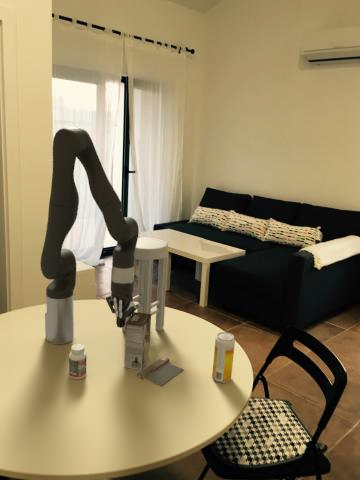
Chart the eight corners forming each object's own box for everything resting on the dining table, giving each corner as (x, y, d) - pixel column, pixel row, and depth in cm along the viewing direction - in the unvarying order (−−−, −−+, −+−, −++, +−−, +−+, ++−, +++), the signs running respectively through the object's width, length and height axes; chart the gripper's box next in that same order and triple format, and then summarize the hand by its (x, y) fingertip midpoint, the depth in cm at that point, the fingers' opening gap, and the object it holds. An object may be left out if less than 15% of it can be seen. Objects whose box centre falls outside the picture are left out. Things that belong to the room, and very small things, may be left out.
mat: (136, 374, 143) (136, 373, 143) (159, 359, 153) (159, 358, 153) (161, 386, 138) (161, 385, 138) (183, 370, 148) (183, 369, 147)
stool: (170, 328, 175) (175, 242, 166) (147, 343, 163) (151, 251, 153) (139, 317, 183) (142, 234, 174) (114, 331, 171) (116, 242, 161)
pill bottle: (80, 381, 138) (80, 352, 135) (65, 377, 140) (65, 349, 137) (89, 372, 143) (89, 344, 140) (74, 368, 145) (74, 341, 142)
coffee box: (131, 353, 156) (133, 311, 151) (149, 356, 155) (151, 313, 150) (123, 367, 147) (125, 322, 143) (142, 370, 146) (144, 325, 142)
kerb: (140, 378, 141) (140, 375, 141) (167, 360, 152) (167, 357, 152) (143, 380, 141) (143, 376, 140) (169, 361, 152) (169, 358, 151)
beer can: (232, 375, 146) (237, 333, 142) (228, 385, 141) (232, 342, 136) (214, 371, 148) (218, 329, 144) (209, 380, 142) (213, 338, 138)
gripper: (99, 276, 147) (98, 324, 152) (130, 286, 140) (128, 336, 145) (115, 270, 153) (113, 317, 158) (145, 280, 146) (142, 329, 151)
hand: (120, 326), depth 151 cm, fingers closed
